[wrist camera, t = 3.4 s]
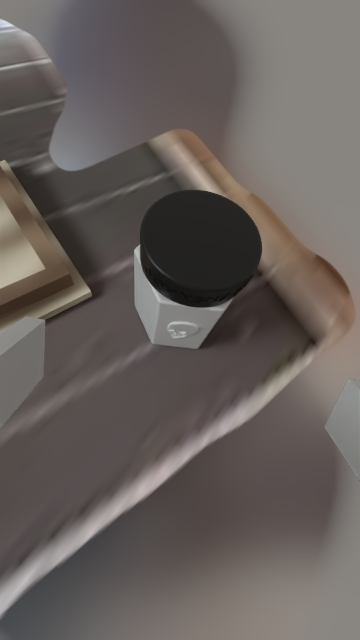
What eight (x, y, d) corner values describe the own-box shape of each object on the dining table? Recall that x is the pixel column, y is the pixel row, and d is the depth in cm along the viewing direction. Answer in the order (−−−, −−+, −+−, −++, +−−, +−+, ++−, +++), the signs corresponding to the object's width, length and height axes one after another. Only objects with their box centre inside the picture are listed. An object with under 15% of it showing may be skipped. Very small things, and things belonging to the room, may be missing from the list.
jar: (128, 343, 27) (123, 279, 16) (140, 272, 30) (142, 178, 19) (218, 354, 28) (272, 300, 17) (220, 284, 31) (266, 200, 20)
